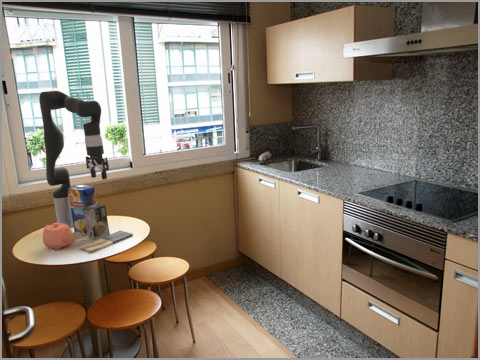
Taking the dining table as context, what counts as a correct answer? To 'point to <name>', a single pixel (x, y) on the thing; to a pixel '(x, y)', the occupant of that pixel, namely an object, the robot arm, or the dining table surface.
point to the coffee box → (96, 221)
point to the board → (105, 241)
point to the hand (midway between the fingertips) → (99, 178)
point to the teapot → (57, 236)
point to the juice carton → (80, 205)
